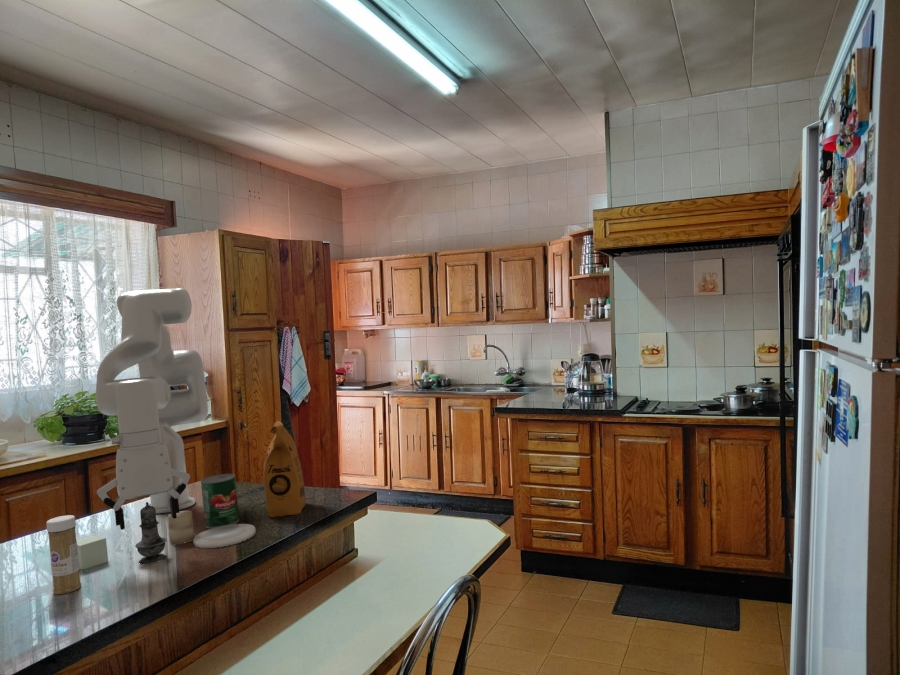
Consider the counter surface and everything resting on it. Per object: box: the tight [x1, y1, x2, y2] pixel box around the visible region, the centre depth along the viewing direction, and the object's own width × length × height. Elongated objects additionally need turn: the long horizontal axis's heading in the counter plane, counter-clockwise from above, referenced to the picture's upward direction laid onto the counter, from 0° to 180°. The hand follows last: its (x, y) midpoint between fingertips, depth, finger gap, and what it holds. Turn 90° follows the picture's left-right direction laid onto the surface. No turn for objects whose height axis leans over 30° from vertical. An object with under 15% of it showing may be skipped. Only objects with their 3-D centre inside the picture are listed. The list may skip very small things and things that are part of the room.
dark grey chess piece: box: [134, 501, 168, 565], centre depth 130 cm, size 6×6×12 cm
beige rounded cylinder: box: [167, 510, 195, 545], centre depth 142 cm, size 5×5×6 cm
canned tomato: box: [200, 473, 240, 529], centre depth 153 cm, size 8×8×11 cm
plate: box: [192, 523, 256, 549], centre depth 141 cm, size 13×13×1 cm
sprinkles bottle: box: [46, 514, 82, 595], centre depth 117 cm, size 5×5×13 cm
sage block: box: [76, 534, 109, 571], centre depth 131 cm, size 5×5×5 cm
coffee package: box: [262, 420, 307, 518], centre depth 159 cm, size 10×12×22 cm
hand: (148, 522), depth 130 cm, fingers open, 9 cm apart
